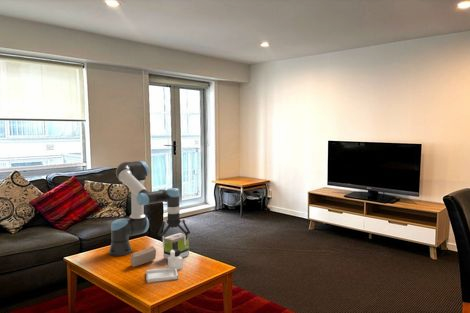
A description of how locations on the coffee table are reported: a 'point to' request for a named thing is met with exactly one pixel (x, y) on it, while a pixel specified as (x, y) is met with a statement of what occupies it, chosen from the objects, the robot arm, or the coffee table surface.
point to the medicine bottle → (175, 259)
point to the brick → (143, 256)
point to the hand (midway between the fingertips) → (174, 245)
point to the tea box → (176, 245)
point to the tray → (161, 274)
